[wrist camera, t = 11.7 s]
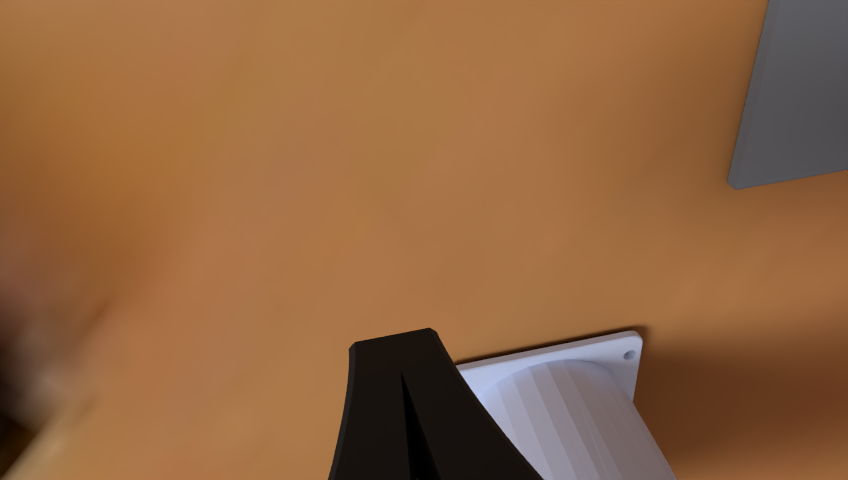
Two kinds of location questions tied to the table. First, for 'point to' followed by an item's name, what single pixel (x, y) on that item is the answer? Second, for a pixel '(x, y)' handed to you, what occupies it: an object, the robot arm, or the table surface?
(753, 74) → the grey rectangular slab
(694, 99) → the table surface
